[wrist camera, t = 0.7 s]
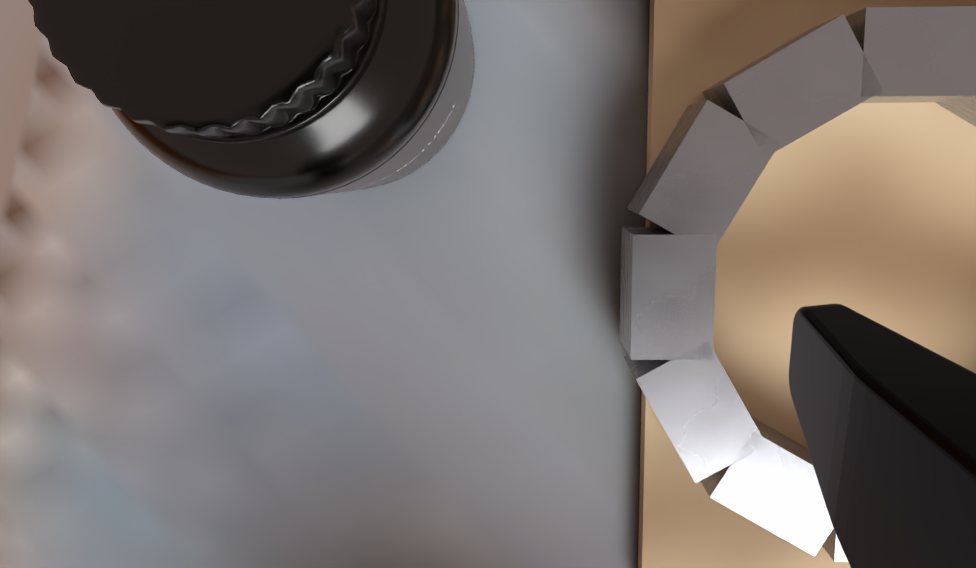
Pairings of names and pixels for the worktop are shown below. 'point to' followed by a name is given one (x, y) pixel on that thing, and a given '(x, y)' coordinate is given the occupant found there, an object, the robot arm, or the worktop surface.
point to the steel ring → (711, 208)
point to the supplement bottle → (274, 84)
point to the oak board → (805, 252)
